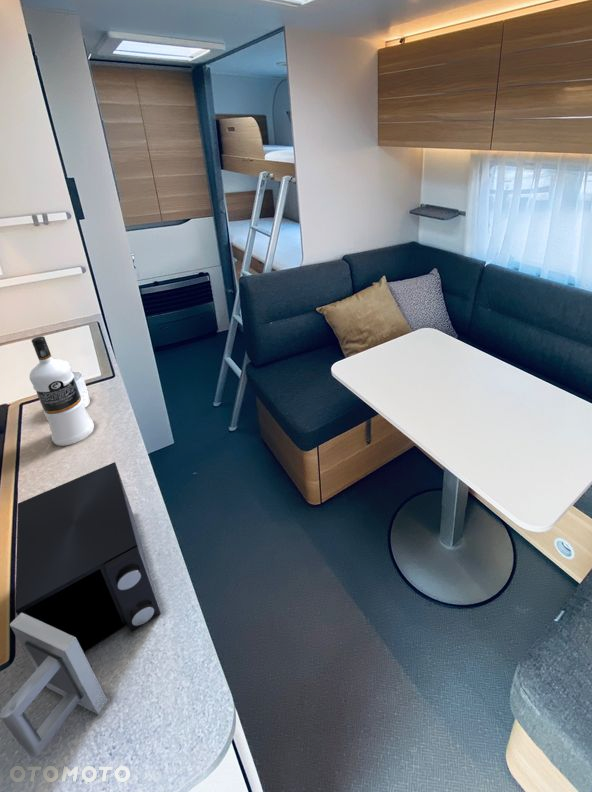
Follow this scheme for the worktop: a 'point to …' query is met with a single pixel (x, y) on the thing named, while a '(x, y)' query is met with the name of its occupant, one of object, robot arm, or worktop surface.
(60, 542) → the microwave
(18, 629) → the microwave door
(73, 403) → the vodka
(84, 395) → the white cup
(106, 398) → the worktop surface
